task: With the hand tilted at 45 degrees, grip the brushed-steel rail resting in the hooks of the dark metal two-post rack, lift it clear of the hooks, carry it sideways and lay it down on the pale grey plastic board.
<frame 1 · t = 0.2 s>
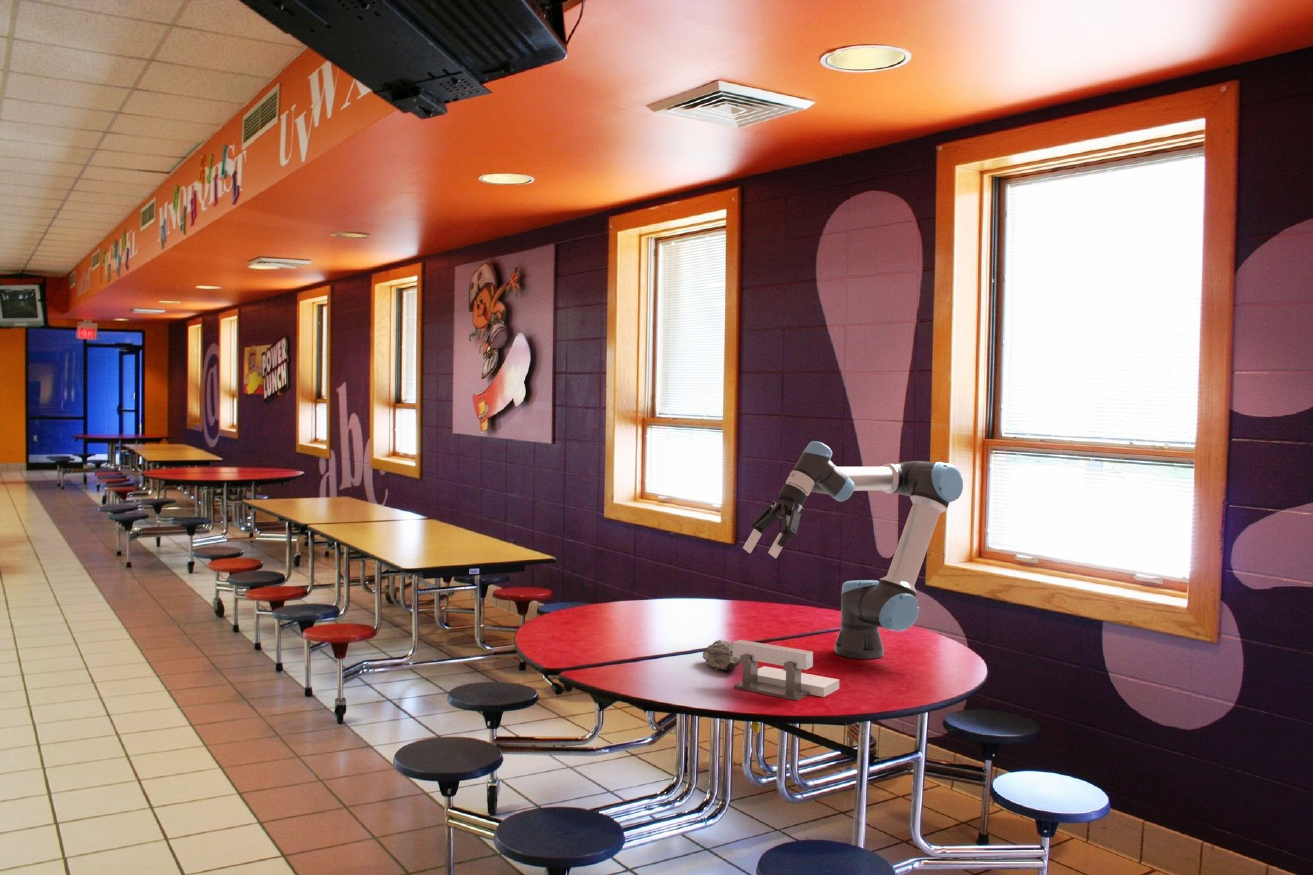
hand: (759, 553, 269), 36 cm above the table, fingers open, 13 cm apart
board: (792, 685, 265), on the table
rail: (771, 661, 259), point 8 cm above the table, touching rack
rock: (726, 668, 283), on the table
rack: (771, 691, 259), on the table
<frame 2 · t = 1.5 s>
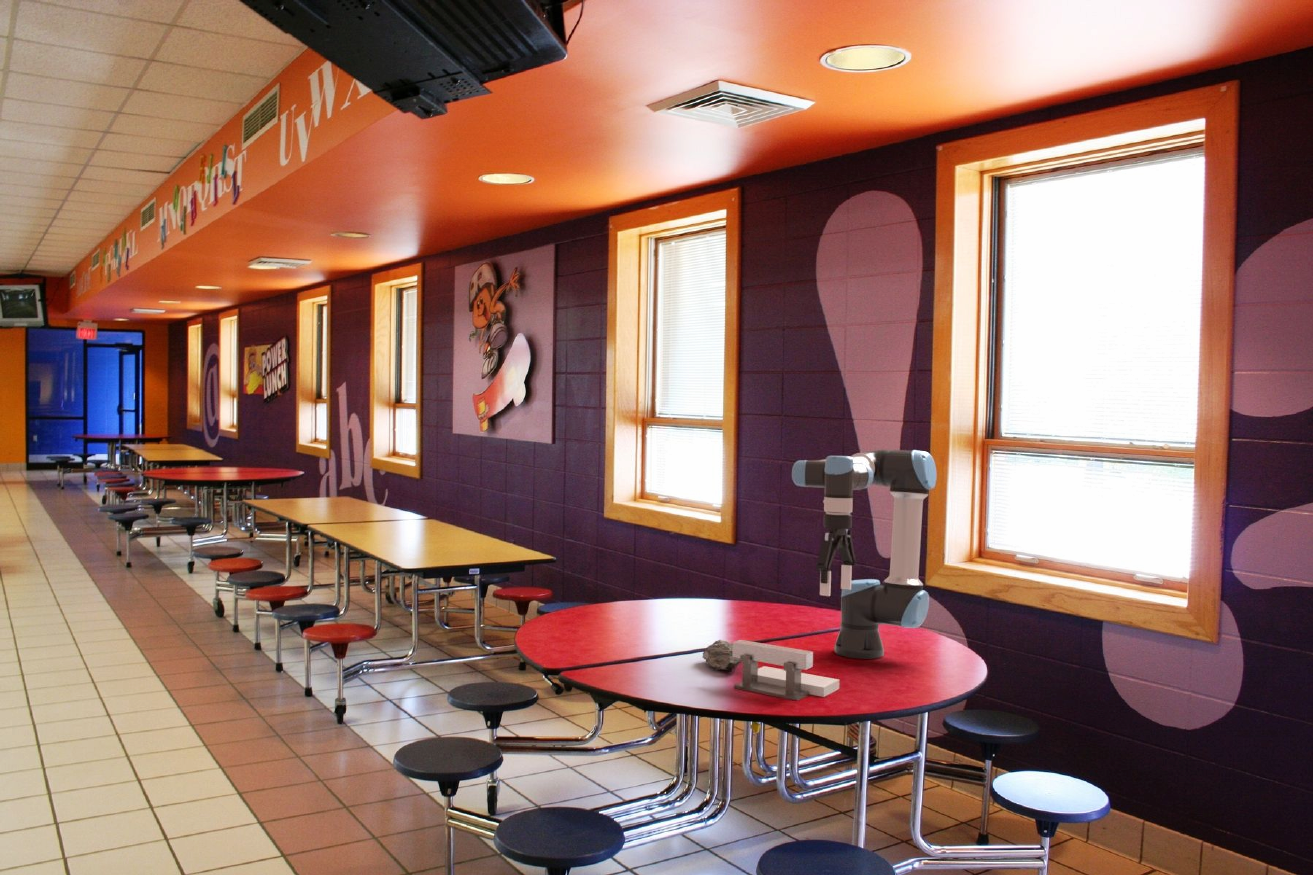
hand: (835, 592, 259), 27 cm above the table, fingers open, 13 cm apart
nothing on the table moved.
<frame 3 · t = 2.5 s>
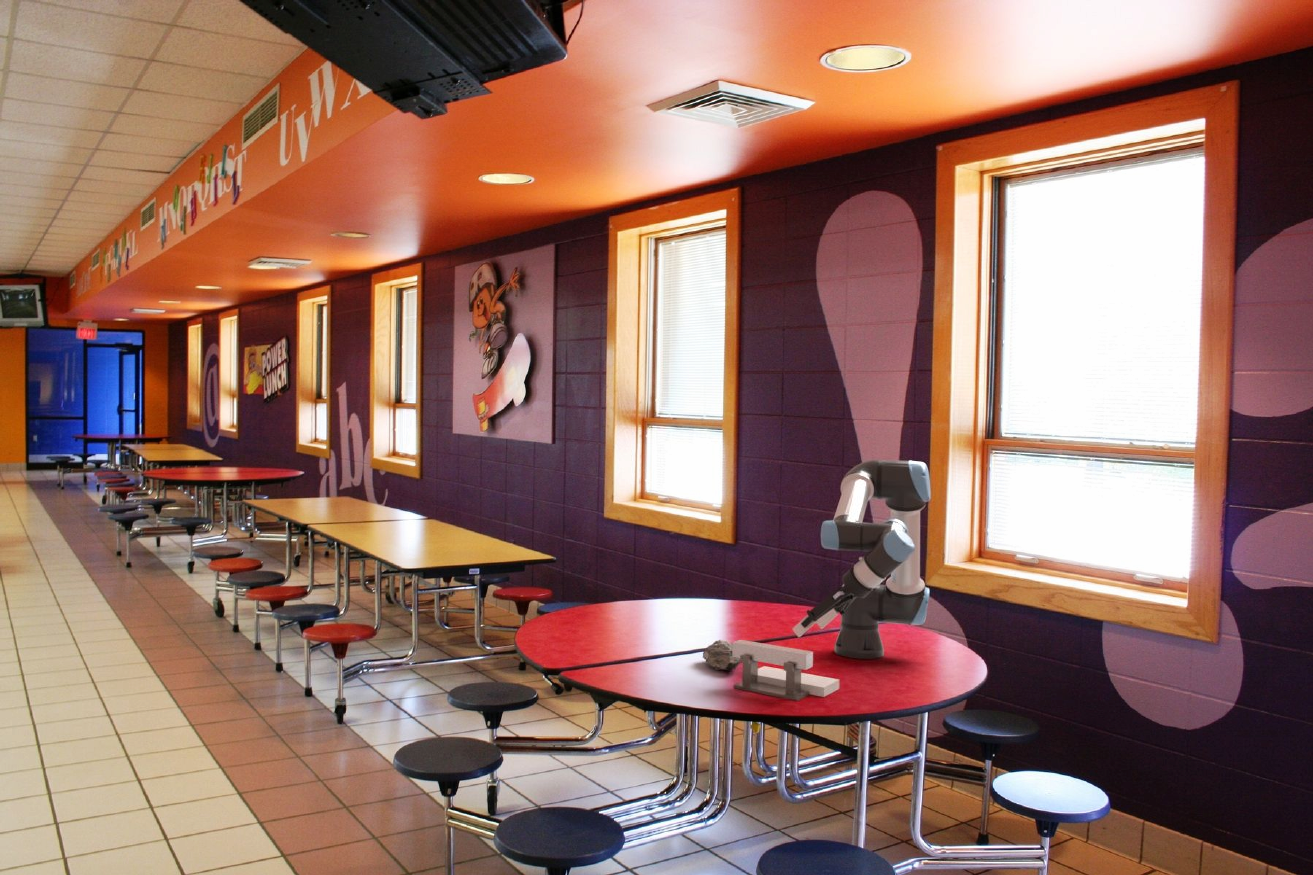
hand: (807, 628, 253), 18 cm above the table, fingers open, 13 cm apart
nothing on the table moved.
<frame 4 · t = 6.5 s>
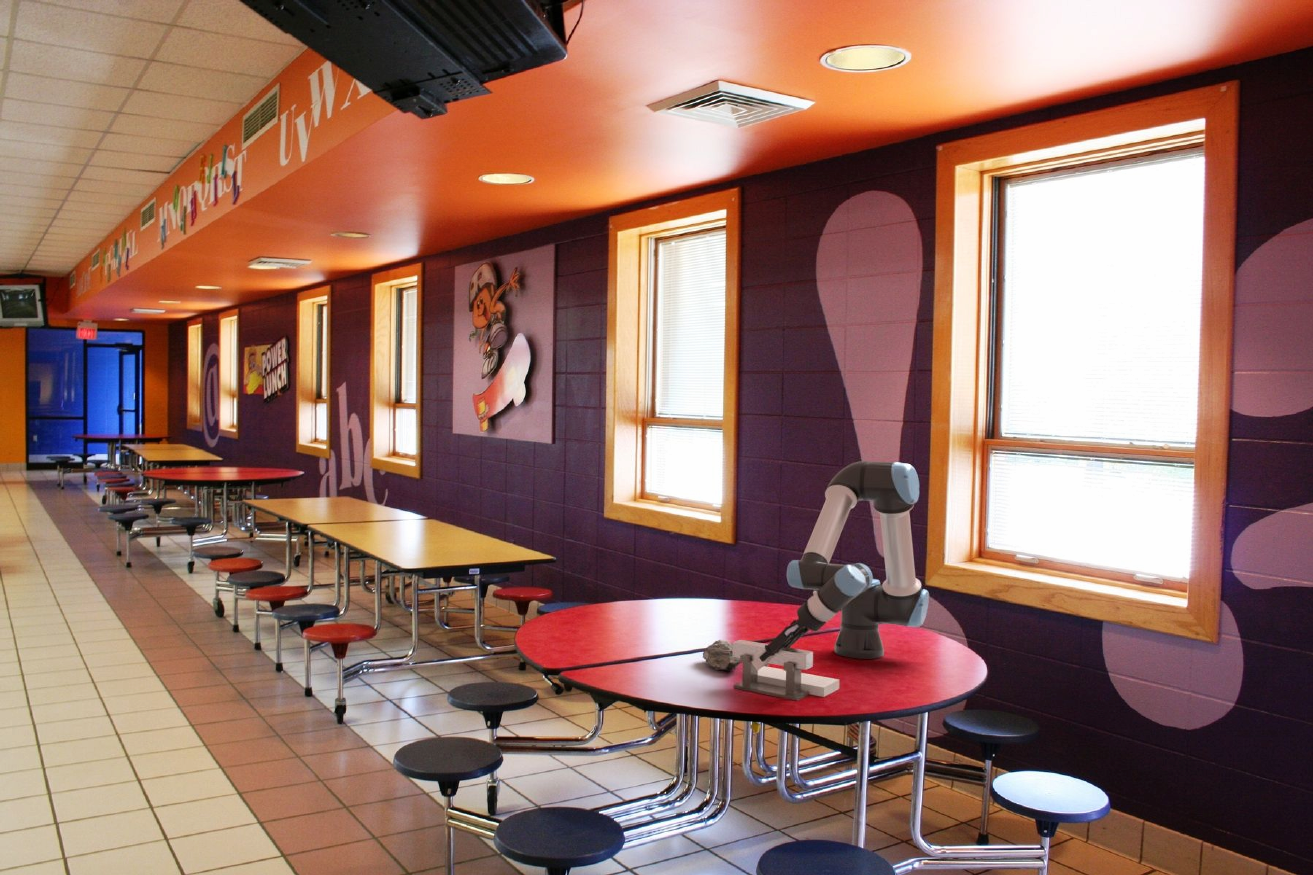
hand: (759, 664, 261), 7 cm above the table, fingers closed on rail, 4 cm apart
rail: (771, 661, 259), point 8 cm above the table, touching gripper, rack
everything else where it was.
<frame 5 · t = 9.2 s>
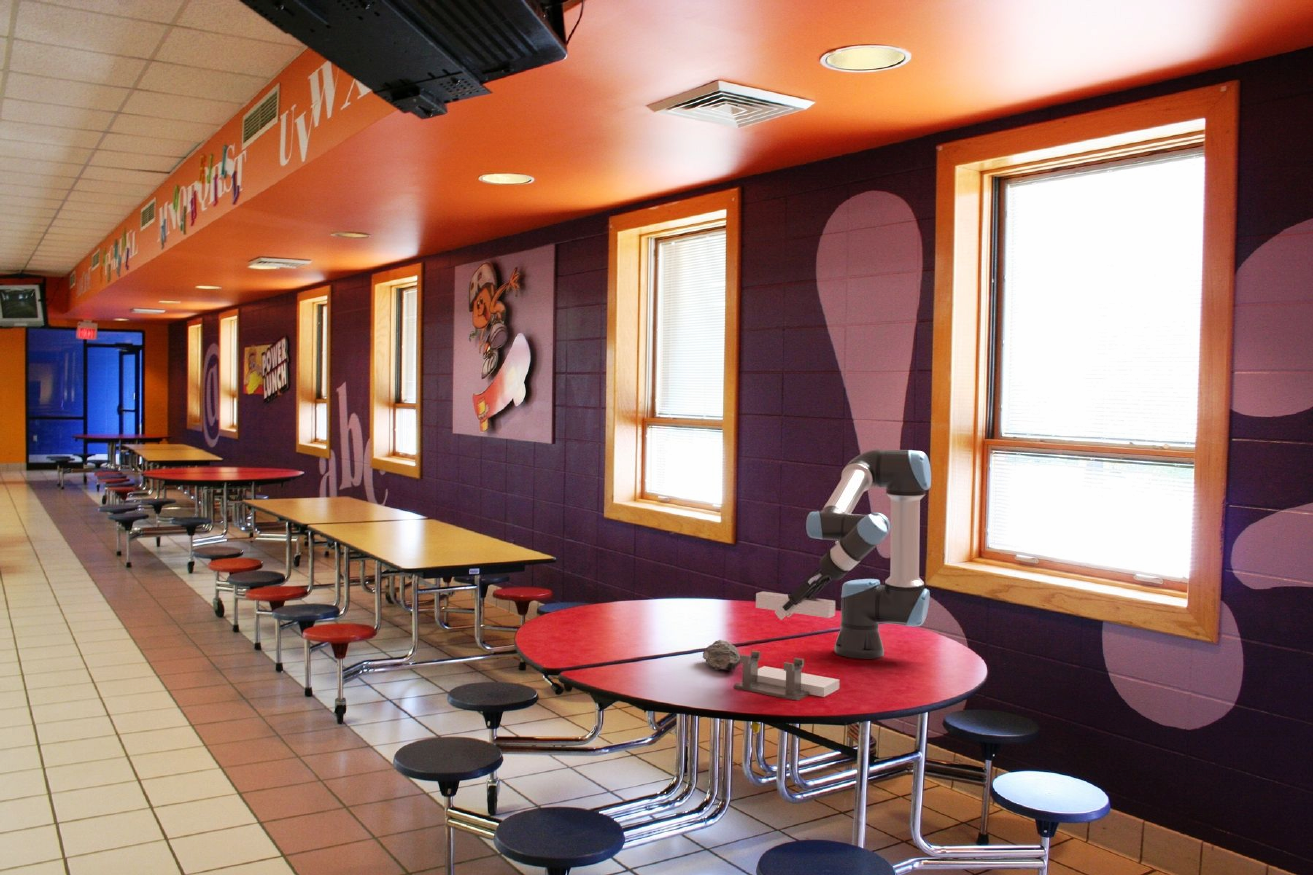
hand: (782, 614, 267), 19 cm above the table, fingers closed on rail, 4 cm apart
rail: (794, 611, 265), point 20 cm above the table, touching gripper
everything else where it was.
when the fingers open (4 cm above the table, at t = 12.1 s): rail drops 3 cm, resting on board.
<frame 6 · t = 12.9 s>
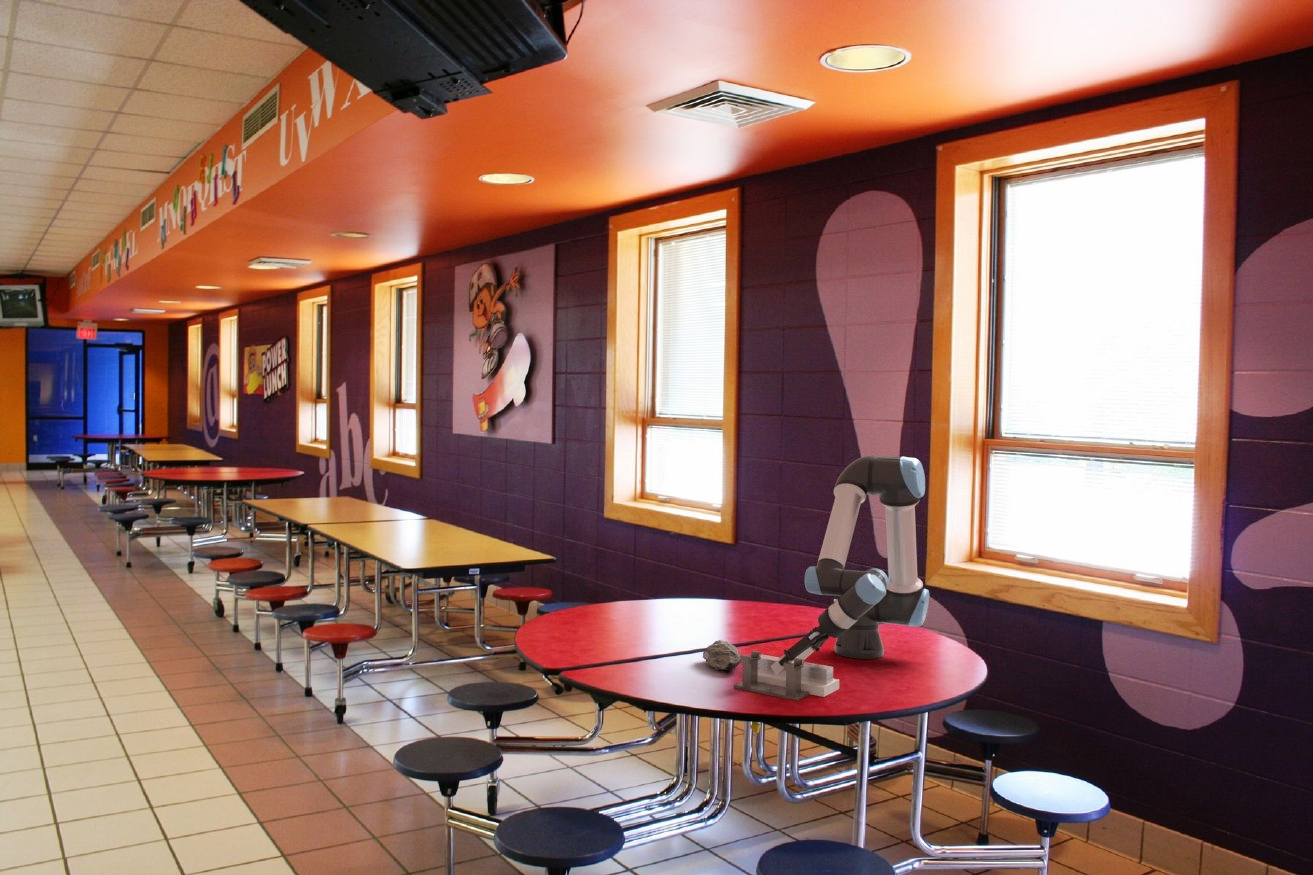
hand: (785, 665, 267), 5 cm above the table, fingers open, 12 cm apart
rail: (792, 676, 265), point 2 cm above the table, touching board
everything else where it was.
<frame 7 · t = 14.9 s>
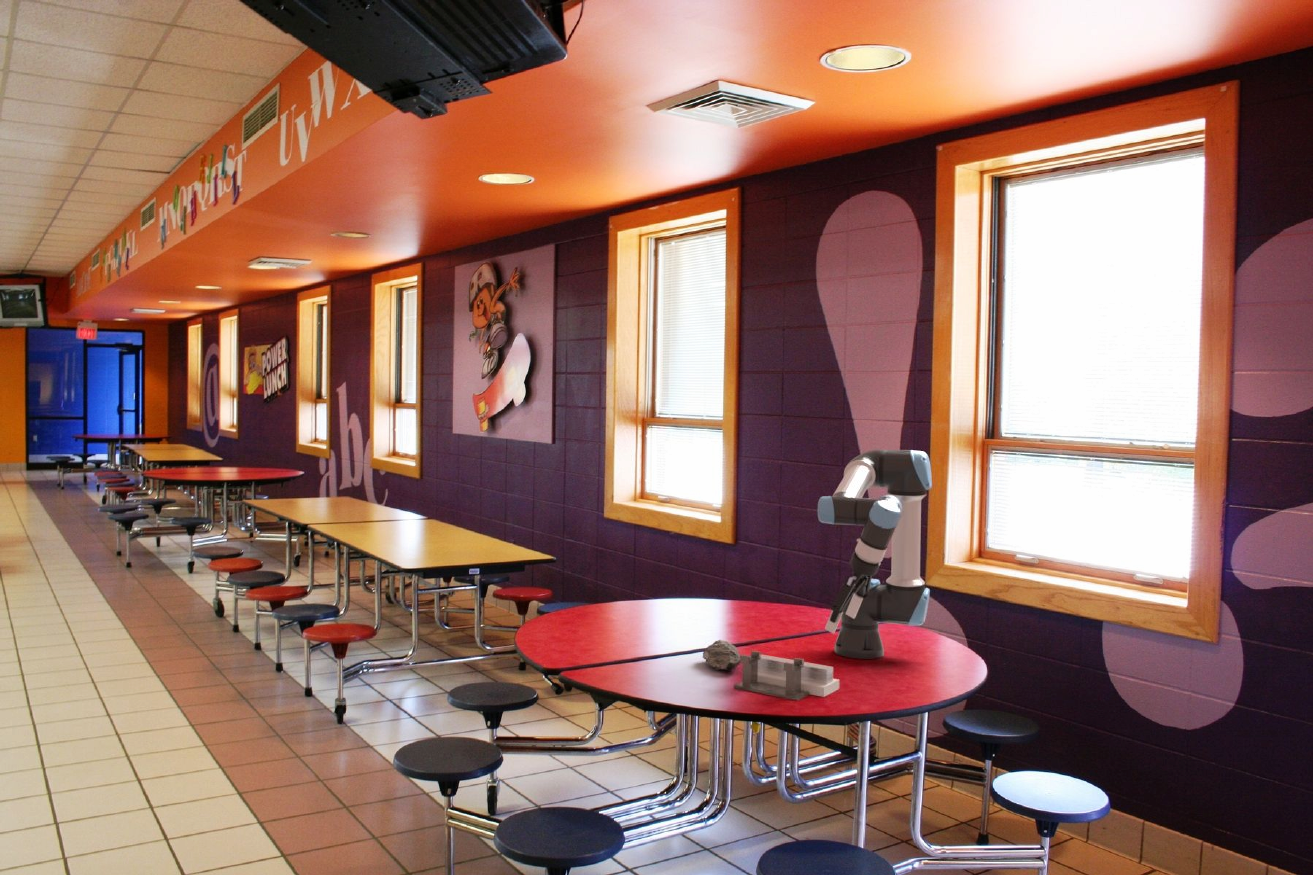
hand: (840, 623, 262), 18 cm above the table, fingers open, 13 cm apart
nothing on the table moved.
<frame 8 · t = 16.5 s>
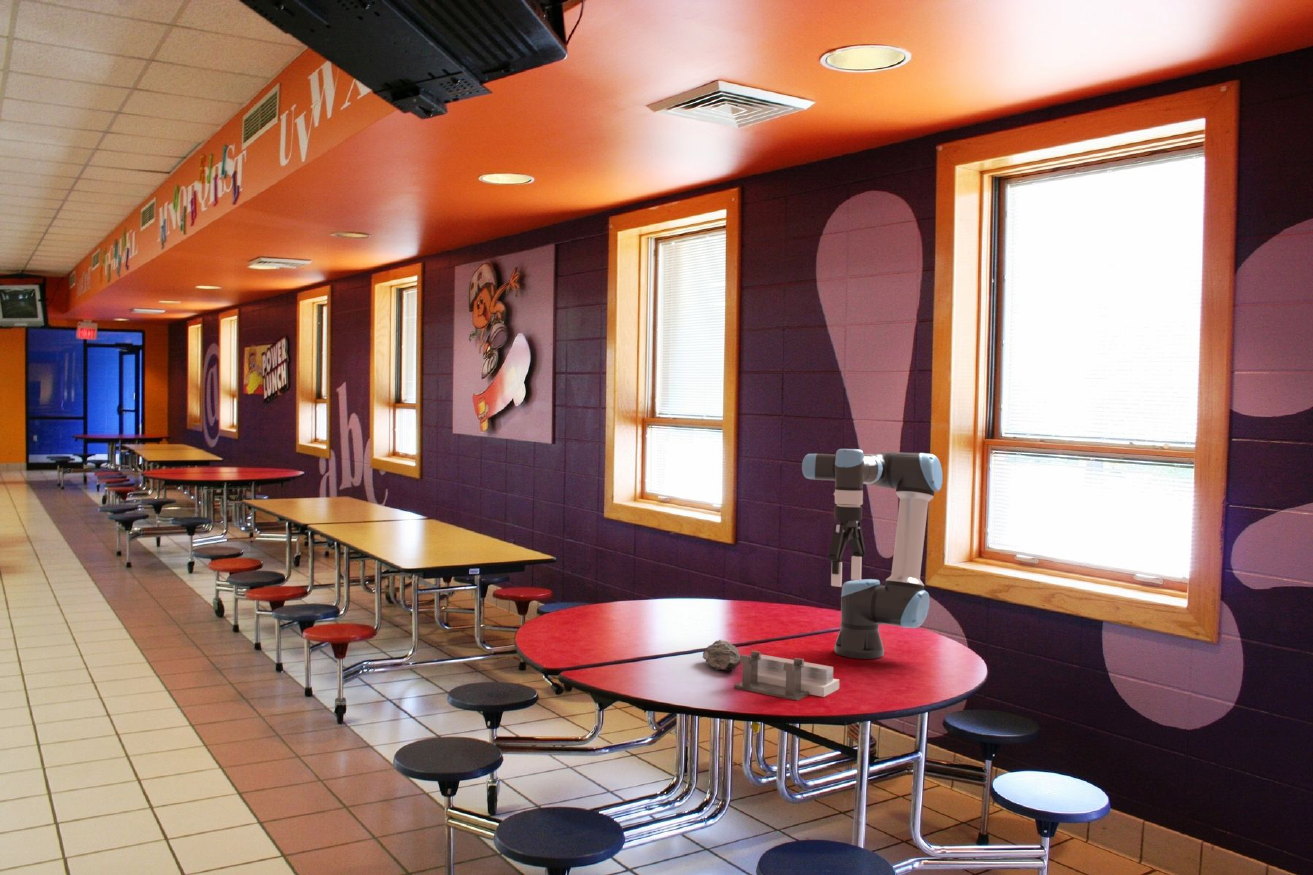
hand: (846, 583, 264), 29 cm above the table, fingers open, 13 cm apart
nothing on the table moved.
at the end: rail inside the target area on the board (0.1 cm from its centre), point 2.5 cm above the board's base; the gripper is holding nothing; rail moved 10.7 cm from its start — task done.
